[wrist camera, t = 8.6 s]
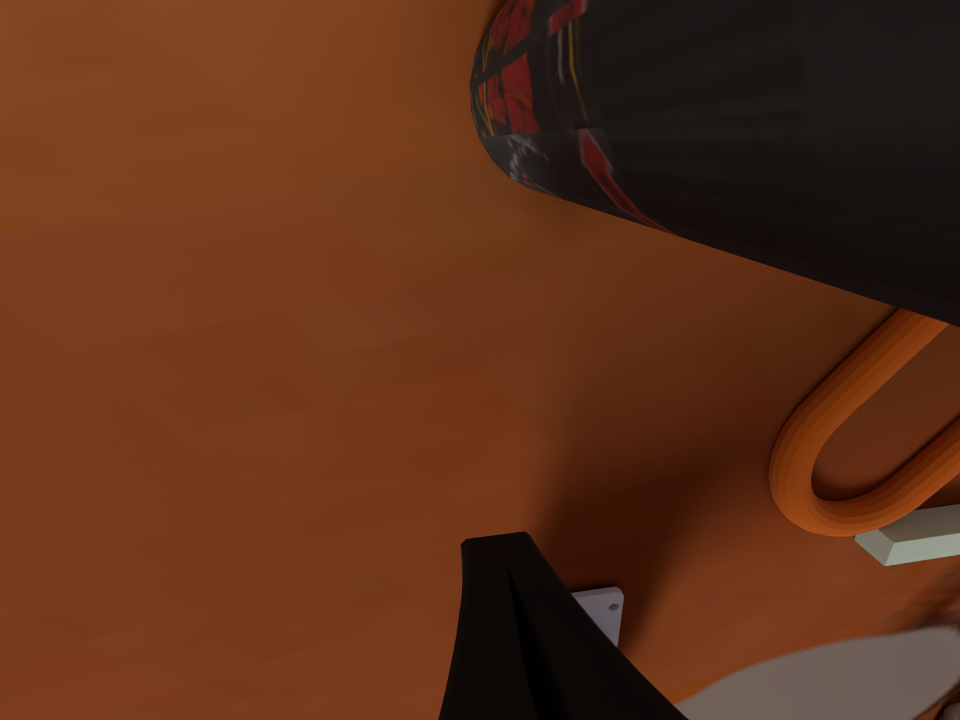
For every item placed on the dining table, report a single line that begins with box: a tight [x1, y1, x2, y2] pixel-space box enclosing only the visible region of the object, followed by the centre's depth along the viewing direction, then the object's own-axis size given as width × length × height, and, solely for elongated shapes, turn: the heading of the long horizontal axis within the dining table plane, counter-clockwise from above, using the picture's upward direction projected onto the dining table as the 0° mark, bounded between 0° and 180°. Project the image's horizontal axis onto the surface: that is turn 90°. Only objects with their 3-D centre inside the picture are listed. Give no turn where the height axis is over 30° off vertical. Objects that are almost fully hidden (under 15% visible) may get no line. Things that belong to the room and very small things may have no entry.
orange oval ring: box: [769, 308, 960, 537], centre depth 23 cm, size 10×2×15 cm
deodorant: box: [470, 0, 960, 327], centre depth 9 cm, size 6×6×15 cm
